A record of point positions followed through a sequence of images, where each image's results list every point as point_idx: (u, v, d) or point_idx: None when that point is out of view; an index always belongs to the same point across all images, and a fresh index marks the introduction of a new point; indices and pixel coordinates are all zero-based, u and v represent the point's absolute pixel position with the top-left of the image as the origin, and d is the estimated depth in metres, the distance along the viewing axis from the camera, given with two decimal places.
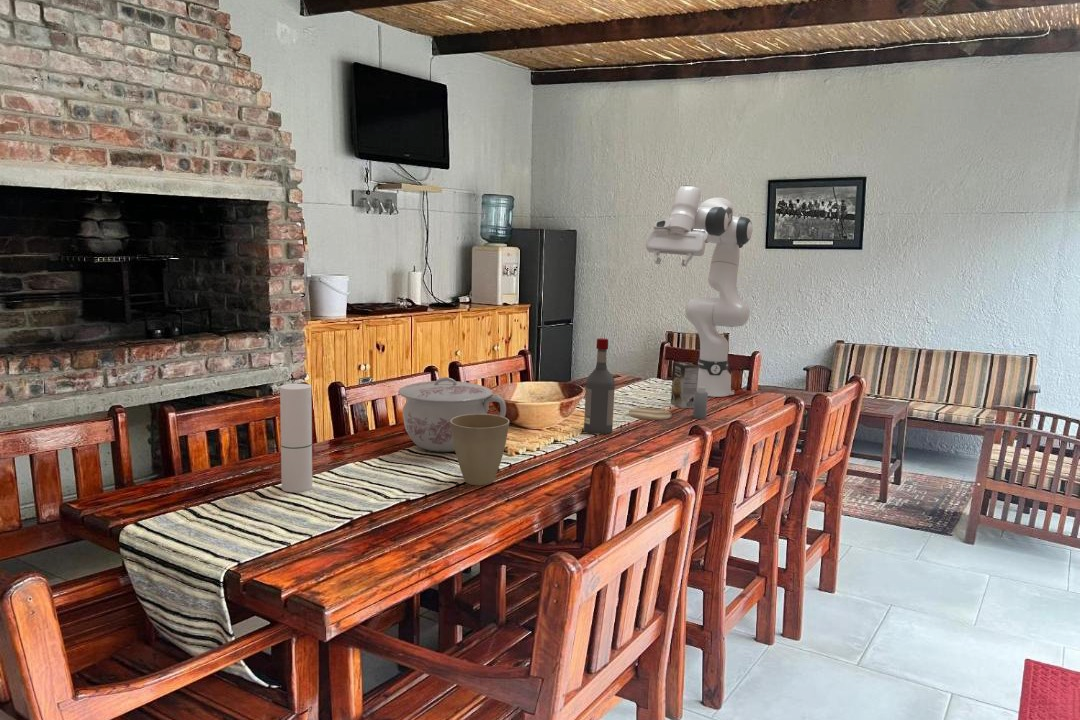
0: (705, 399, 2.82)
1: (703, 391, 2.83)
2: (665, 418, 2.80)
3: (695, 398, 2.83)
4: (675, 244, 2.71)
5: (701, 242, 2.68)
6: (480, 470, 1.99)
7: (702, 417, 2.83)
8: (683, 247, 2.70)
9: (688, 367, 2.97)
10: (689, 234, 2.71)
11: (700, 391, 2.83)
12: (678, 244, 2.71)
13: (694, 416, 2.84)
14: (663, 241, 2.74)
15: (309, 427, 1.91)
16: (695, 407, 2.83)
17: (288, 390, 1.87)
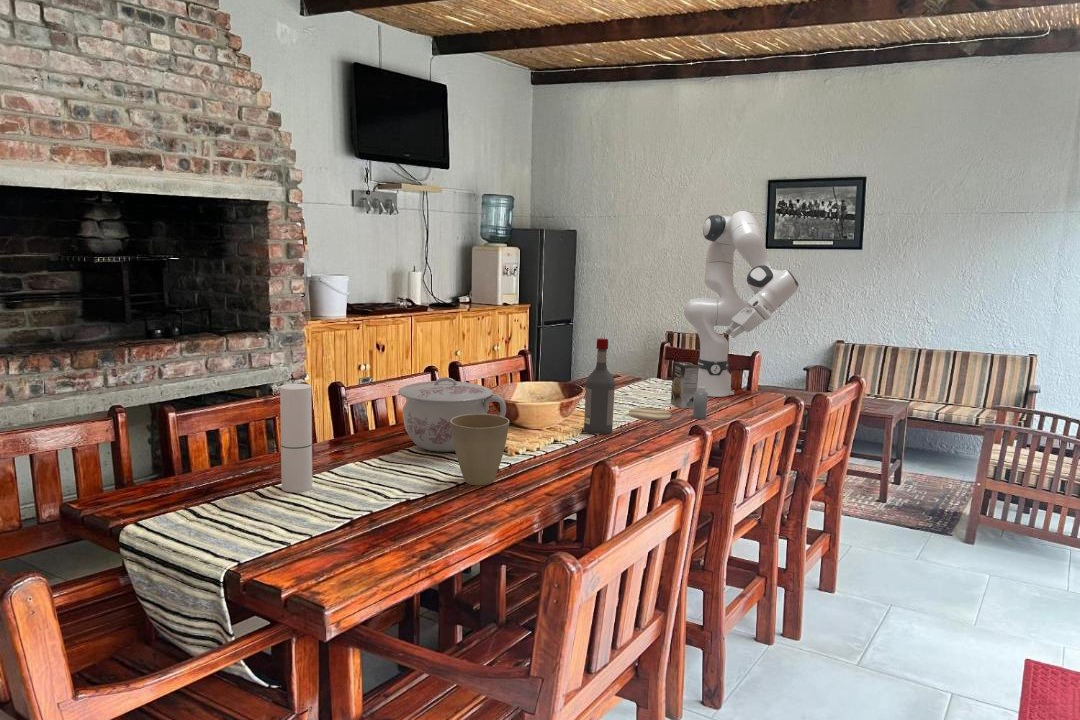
0: (705, 399, 2.82)
1: (703, 391, 2.83)
2: (665, 418, 2.80)
3: (695, 398, 2.83)
4: None
5: None
6: (480, 470, 1.99)
7: (702, 417, 2.83)
8: None
9: (688, 367, 2.97)
10: None
11: (700, 391, 2.83)
12: None
13: (694, 416, 2.84)
14: None
15: (309, 427, 1.91)
16: (695, 407, 2.83)
17: (288, 390, 1.87)
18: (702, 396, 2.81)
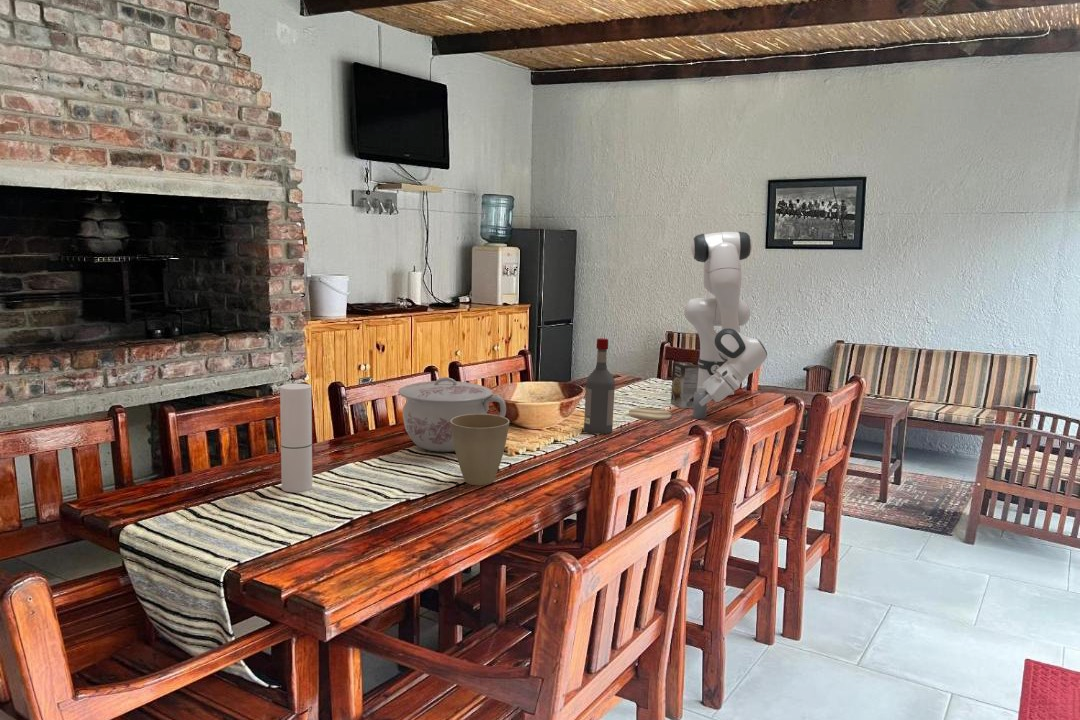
0: None
1: (703, 391, 2.83)
2: (665, 418, 2.80)
3: (695, 398, 2.83)
4: None
5: None
6: (480, 470, 1.99)
7: (702, 417, 2.83)
8: None
9: (688, 367, 2.97)
10: None
11: (700, 391, 2.83)
12: None
13: (694, 416, 2.84)
14: None
15: (309, 427, 1.91)
16: (695, 407, 2.83)
17: (288, 390, 1.87)
18: (702, 396, 2.81)
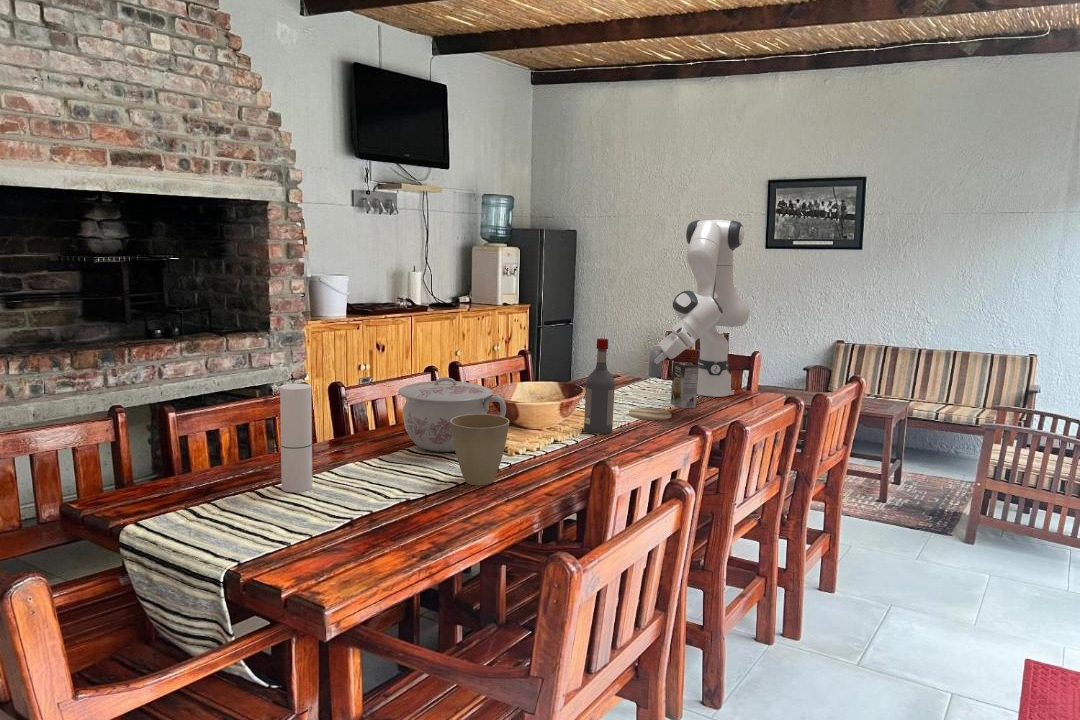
0: None
1: (658, 349, 2.81)
2: (665, 418, 2.80)
3: (650, 356, 2.81)
4: None
5: None
6: (480, 470, 1.99)
7: (657, 376, 2.81)
8: None
9: (688, 367, 2.97)
10: None
11: (655, 349, 2.81)
12: None
13: (649, 375, 2.82)
14: None
15: (309, 427, 1.91)
16: (650, 365, 2.81)
17: (288, 390, 1.87)
18: (657, 354, 2.79)
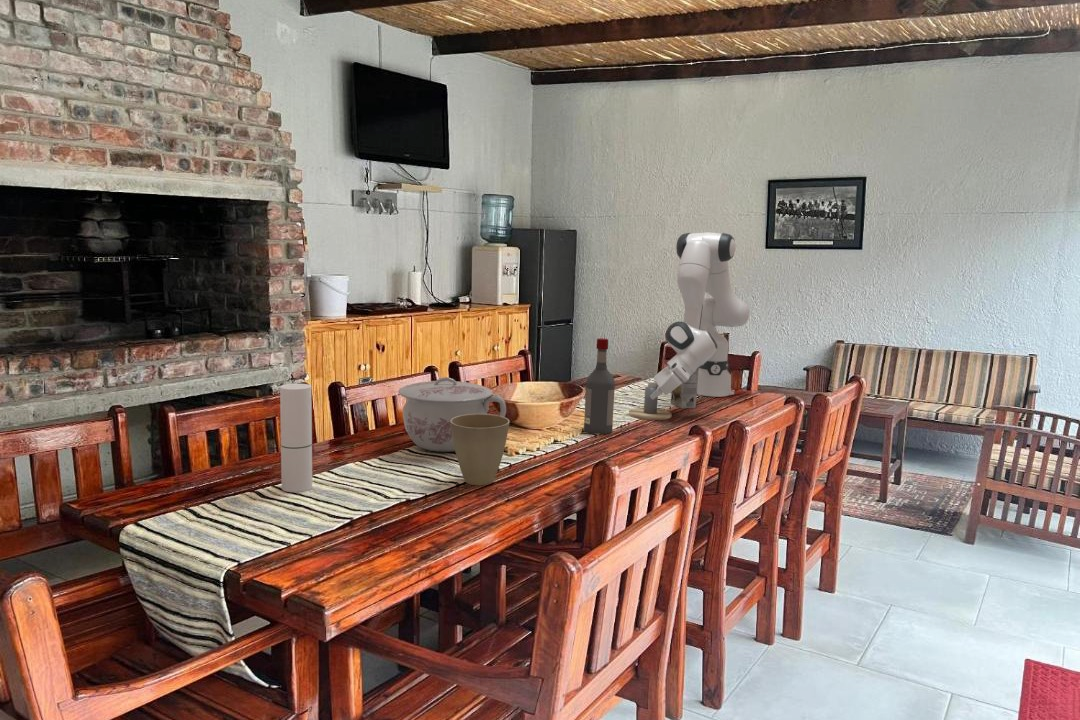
0: None
1: (653, 386, 2.83)
2: (665, 418, 2.80)
3: (645, 393, 2.83)
4: None
5: None
6: (480, 470, 1.99)
7: (652, 412, 2.83)
8: None
9: None
10: None
11: (650, 386, 2.83)
12: None
13: (645, 411, 2.84)
14: None
15: (309, 427, 1.91)
16: (646, 402, 2.83)
17: (288, 390, 1.87)
18: (652, 391, 2.82)
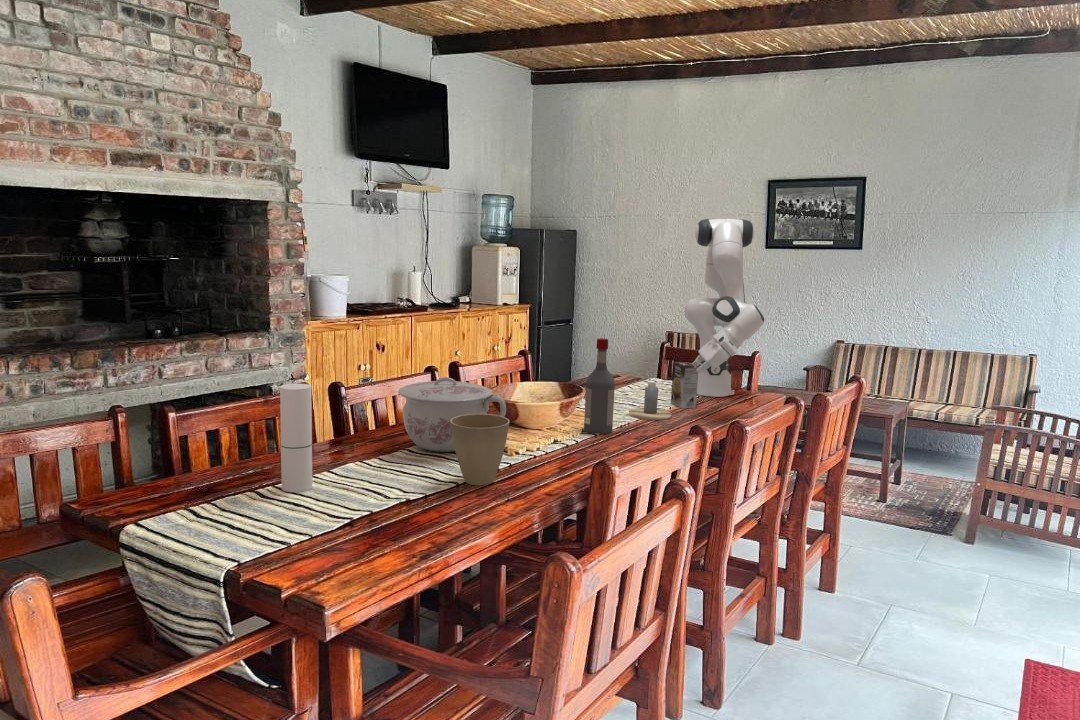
0: (655, 394, 2.82)
1: (653, 386, 2.83)
2: (665, 418, 2.80)
3: (645, 393, 2.83)
4: None
5: None
6: (480, 470, 1.99)
7: (652, 412, 2.83)
8: None
9: (688, 367, 2.97)
10: None
11: (650, 386, 2.83)
12: None
13: (645, 411, 2.84)
14: None
15: (309, 427, 1.91)
16: (645, 402, 2.83)
17: (288, 390, 1.87)
18: (652, 391, 2.82)
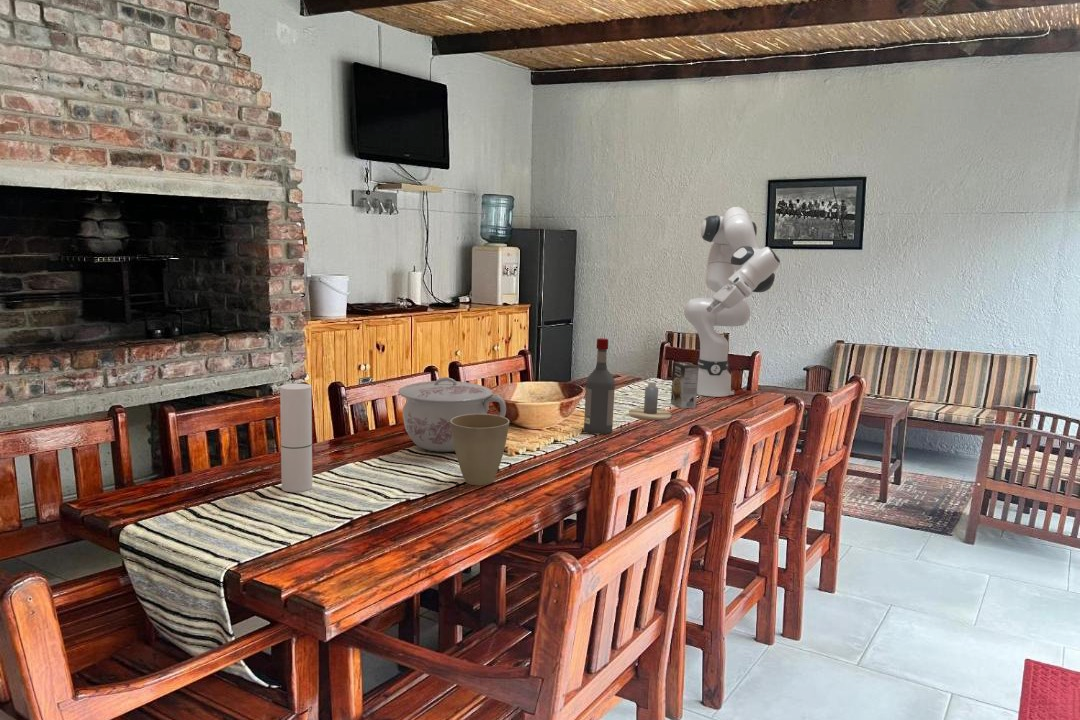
0: (655, 394, 2.82)
1: (653, 386, 2.83)
2: (665, 418, 2.80)
3: (645, 393, 2.83)
4: None
5: None
6: (480, 470, 1.99)
7: (652, 412, 2.83)
8: None
9: (688, 367, 2.97)
10: None
11: (650, 386, 2.83)
12: None
13: (645, 411, 2.84)
14: None
15: (309, 427, 1.91)
16: (645, 402, 2.83)
17: (288, 390, 1.87)
18: (652, 391, 2.82)
